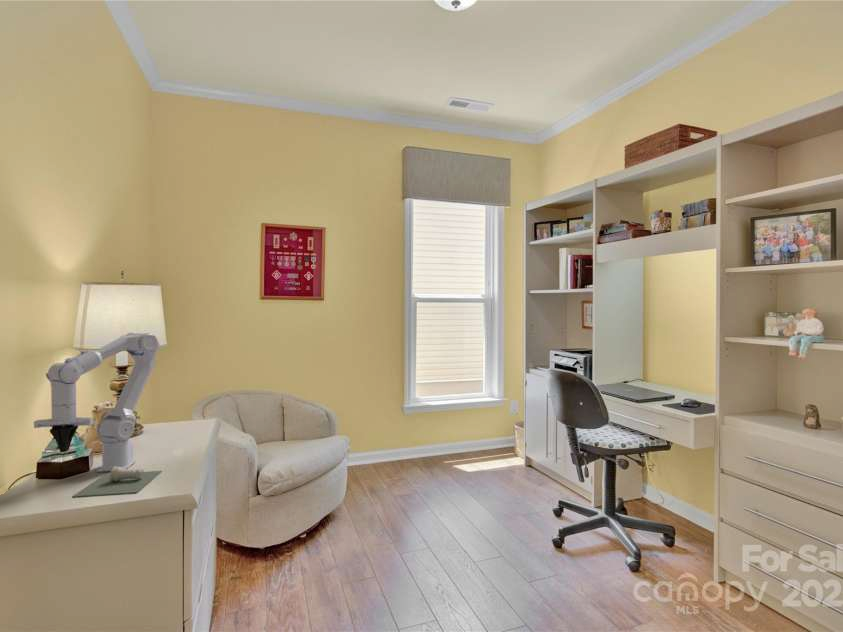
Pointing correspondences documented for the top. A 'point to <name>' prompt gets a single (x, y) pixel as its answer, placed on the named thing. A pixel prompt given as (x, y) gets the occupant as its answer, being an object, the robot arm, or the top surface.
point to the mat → (116, 485)
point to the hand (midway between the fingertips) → (64, 451)
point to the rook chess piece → (125, 474)
